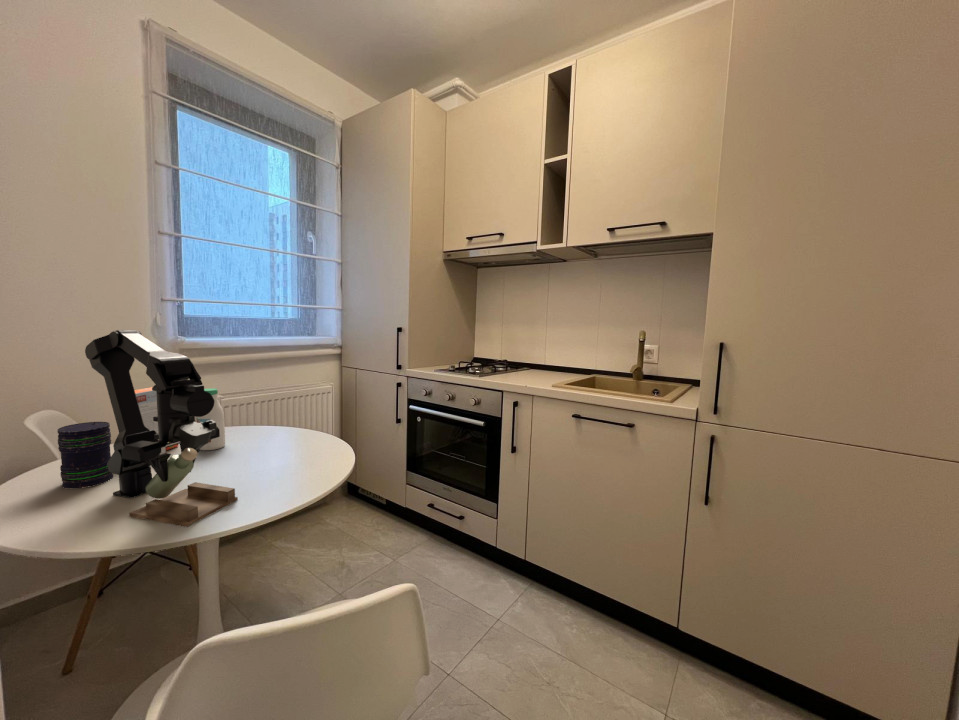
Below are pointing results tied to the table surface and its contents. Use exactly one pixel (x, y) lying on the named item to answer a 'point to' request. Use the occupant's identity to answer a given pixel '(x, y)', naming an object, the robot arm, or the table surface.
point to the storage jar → (84, 454)
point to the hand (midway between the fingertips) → (176, 476)
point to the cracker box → (149, 409)
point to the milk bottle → (218, 417)
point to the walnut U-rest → (187, 504)
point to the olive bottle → (172, 474)
